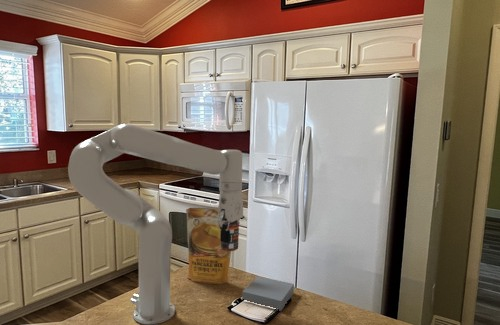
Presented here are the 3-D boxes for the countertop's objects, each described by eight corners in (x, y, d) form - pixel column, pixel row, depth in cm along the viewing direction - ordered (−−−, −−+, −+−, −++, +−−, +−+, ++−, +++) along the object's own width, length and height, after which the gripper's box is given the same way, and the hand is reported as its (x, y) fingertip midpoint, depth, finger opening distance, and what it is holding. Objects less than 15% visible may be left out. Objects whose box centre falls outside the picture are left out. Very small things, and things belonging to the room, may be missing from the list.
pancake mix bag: (188, 273, 136) (189, 205, 134) (234, 278, 133) (236, 209, 131) (182, 280, 130) (182, 209, 127) (230, 286, 127) (232, 213, 124)
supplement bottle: (236, 252, 111) (236, 219, 110) (218, 251, 113) (219, 217, 111) (240, 246, 117) (240, 214, 116) (223, 245, 118) (223, 213, 117)
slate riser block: (242, 301, 116) (242, 291, 115) (258, 284, 128) (258, 276, 128) (280, 311, 110) (281, 300, 109) (293, 293, 122) (294, 283, 122)
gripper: (228, 191, 104) (227, 248, 105) (251, 184, 119) (250, 233, 121) (207, 189, 107) (206, 244, 108) (232, 182, 122) (231, 230, 124)
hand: (229, 238), depth 115 cm, fingers closed on supplement bottle, 5 cm apart
